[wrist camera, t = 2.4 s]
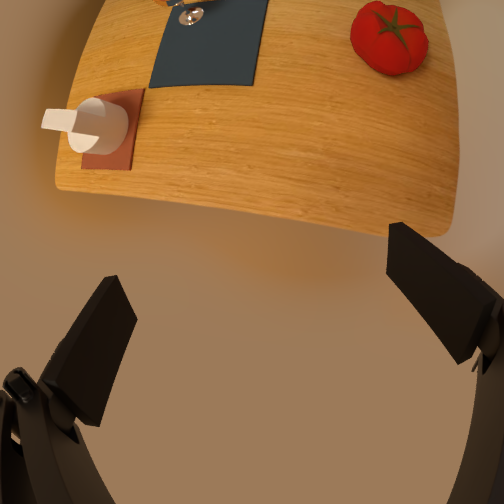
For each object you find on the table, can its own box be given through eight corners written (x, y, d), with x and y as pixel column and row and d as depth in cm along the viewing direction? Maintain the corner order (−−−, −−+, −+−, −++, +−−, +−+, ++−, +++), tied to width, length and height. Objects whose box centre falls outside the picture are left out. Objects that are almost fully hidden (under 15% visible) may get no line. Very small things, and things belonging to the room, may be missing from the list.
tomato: (404, 27, 25) (420, -1, 17) (420, 89, 28) (445, 67, 19) (340, 19, 27) (346, -15, 19) (352, 80, 30) (364, 51, 21)
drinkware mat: (174, 7, 31) (172, 6, 30) (268, -1, 28) (267, -2, 28) (149, 88, 35) (148, 87, 35) (252, 86, 33) (251, 84, 32)
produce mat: (95, 97, 37) (93, 96, 37) (144, 89, 36) (143, 88, 35) (82, 168, 41) (81, 168, 40) (130, 170, 39) (128, 170, 38)
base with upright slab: (135, 107, 36) (86, 88, 24) (119, 159, 38) (66, 154, 27) (99, 103, 37) (52, 90, 25) (85, 150, 39) (35, 147, 28)
